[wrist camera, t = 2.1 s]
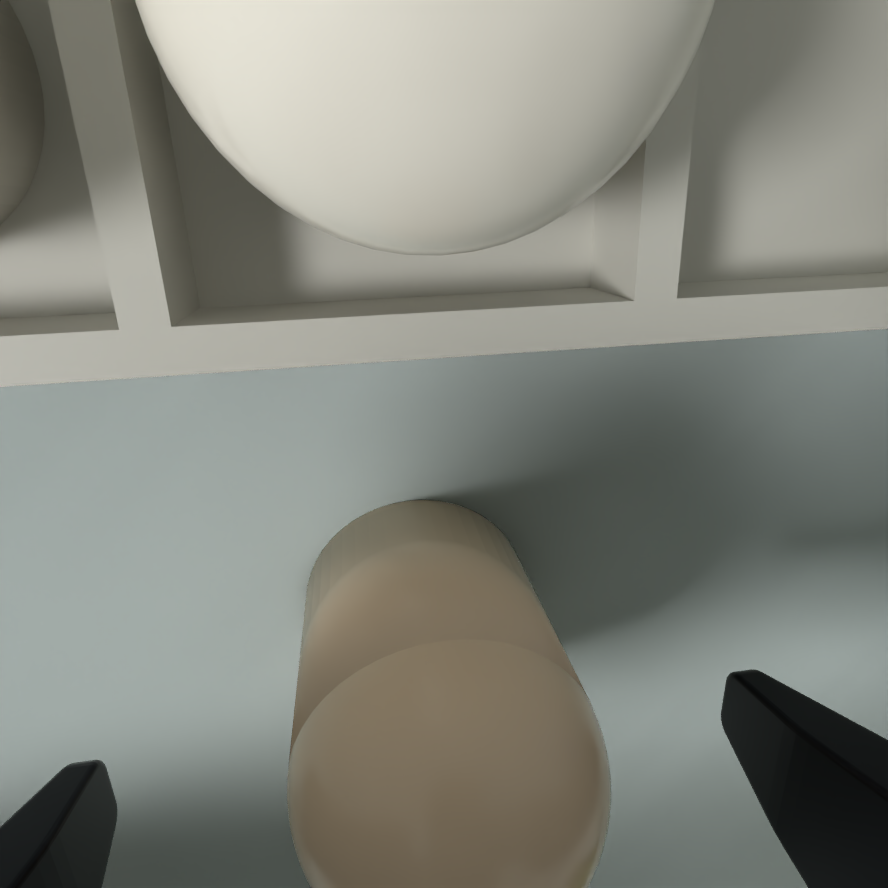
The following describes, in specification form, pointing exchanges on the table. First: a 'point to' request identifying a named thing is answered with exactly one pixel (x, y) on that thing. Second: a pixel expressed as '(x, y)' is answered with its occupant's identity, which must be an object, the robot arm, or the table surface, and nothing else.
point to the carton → (455, 275)
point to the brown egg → (439, 716)
